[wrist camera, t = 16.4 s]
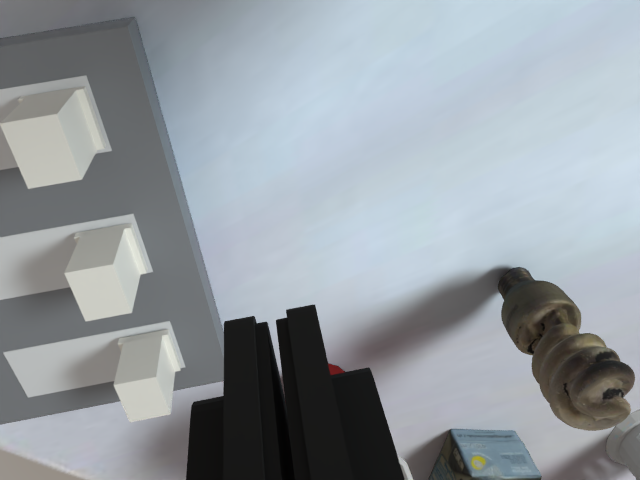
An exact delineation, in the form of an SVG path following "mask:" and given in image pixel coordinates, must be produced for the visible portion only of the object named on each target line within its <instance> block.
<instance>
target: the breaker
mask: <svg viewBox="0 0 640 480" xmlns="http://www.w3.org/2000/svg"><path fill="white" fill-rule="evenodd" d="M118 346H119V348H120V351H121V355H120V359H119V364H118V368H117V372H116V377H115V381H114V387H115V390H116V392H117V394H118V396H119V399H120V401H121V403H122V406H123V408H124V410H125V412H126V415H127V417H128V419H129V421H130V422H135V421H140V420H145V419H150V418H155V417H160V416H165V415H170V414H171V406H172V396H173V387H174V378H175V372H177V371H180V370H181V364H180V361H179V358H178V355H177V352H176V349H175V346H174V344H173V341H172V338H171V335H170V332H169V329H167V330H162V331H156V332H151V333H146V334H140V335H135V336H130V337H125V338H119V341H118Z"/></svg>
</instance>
